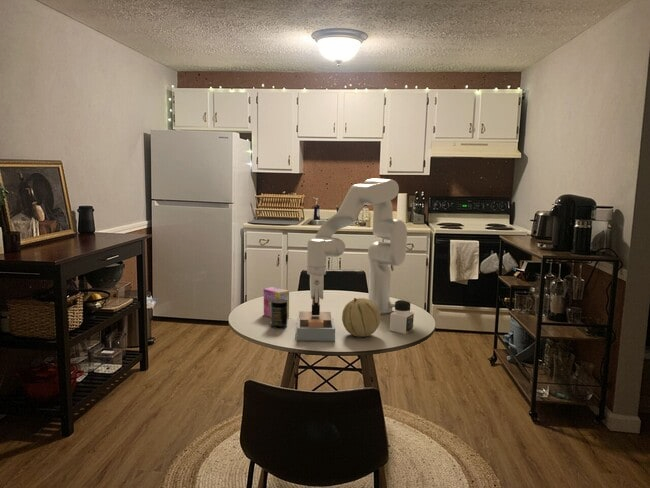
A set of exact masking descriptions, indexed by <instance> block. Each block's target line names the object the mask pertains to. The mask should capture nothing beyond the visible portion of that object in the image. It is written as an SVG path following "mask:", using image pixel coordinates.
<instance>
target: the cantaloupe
mask: <svg viewBox="0 0 650 488" xmlns="http://www.w3.org/2000/svg"><path fill="white" fill-rule="evenodd" d="M381 319H382V318H381V314H380V311H379V309H378V307H377V306H376V304H375V303H373V302H372V301H371V300H369V298H366V297H359V298H356V297H354V298H353V300H352V299H351V300H350V301H349V302H348V303H346V304H345V306H344V308H343V310H342V316H341V321H342V322H341V323H342V324H343V327H344V328H345V330H346V331H347V333H348V334H351V335H353V336H355V337H360V338H362V337H369V336H371V335H372V334H374V333H375V332H376V331H377V329H378V328H379V326H380V324H381V321H382V320H381Z"/></svg>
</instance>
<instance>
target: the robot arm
mask: <svg viewBox="0 0 650 488" xmlns="http://www.w3.org/2000/svg"><path fill="white" fill-rule="evenodd" d="M399 186H400V185H399V184H398V183H397V181H396V180H393V179H391V178H390V179H389V178H388V179H387V178H368V179H366V180H364V182H363V183H357V184H352V185H351V187H350V188H349V190H348V191H347V193H346V195H345V197H344V200H343V201H342V203H341V205H340V207H339V209H338V210H337V212H335V214H333V215H332V216H331V217H330V218H329V219H327V220H326V221H325V222H323V224H322V225H321V226H320V227H319V229H318V231H317V232H316V235H315V237H314V238H311V239H309V240H308V241H307V253H306V254H307V256H306V257H307V261H306V263H307V264H306V274H307V275H309V289H310V290H309V291H310V298H311V300H312V302H311V312H312V315H320V312H321V304H320V299H321V300H324V275H326V274H327V258H328V257H340V256H342V255H344V252H345V251H346V243H345V242H344V240H343V239H340V238H338V237H337V238H336V237H333V235H334V234H335V233H336V232H338V231H339V230H341V229H343V228H347V227H348V226H349V227H350V226H351V225H353V224H355V223H356V222H357V219H358V217H359V215H360V214H361V211H362V209H363V208H364V206H372V209H373V216H372V217H373V218H372V234H373V236H374V237H375V238H377V239H380V240H387V241H389V242H386V241H385V242H384V241H374V242H372V243H371V244H370V245H369V247H368V250H367V257H368V264H369V280H368V283H369V284H368V299H369V300H371V301H372V302H373V303H375V304H376V306H377V307H378V309H379V311H380V315H385V314H391V313H393V308H395V302H396V301H395V302H391V301H390V298H391V296H390V295H391V275H392V274H391V268H390V266H395V267H398V266H401V265H402V264H403V263H404V261H405V259H406V254H407V253H406V252H407V240H408V239H407V238H408V228H407V225H406V223H405V221H403V220H401V219H398V218H393V217H394V216H393V215H394V214H393V212H394V211H393V204H392V203H393V202H392V200H393V199H395V198H396V197H397V196H398V194H399V192H400V191H399V190H400V189H399V188H400V187H399Z"/></svg>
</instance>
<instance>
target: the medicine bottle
mask: <svg viewBox="0 0 650 488" xmlns="http://www.w3.org/2000/svg"><path fill="white" fill-rule="evenodd" d="M414 315H415V312H413V311H411V302H410V301H409V300H406V299H400V300H399V299H398V300H396V301H395V307H394V311H392V312H391V313H390V315H389V316H390V319H389V331H390V332H394V333H399V334H404V335H406V334H408V333H410V332H411V331H413V330H414V317H415V316H414Z"/></svg>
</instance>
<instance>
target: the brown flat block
mask: <svg viewBox="0 0 650 488" xmlns="http://www.w3.org/2000/svg"><path fill="white" fill-rule="evenodd" d="M298 313H299V314H298V318H300V326H308V320H309V319H321V320H323V326H327V327H331V319H333V318H332V314H331V313H332V312H330V311H320V315H312V311H303V310H302V311H301V310H299V311H298Z"/></svg>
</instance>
